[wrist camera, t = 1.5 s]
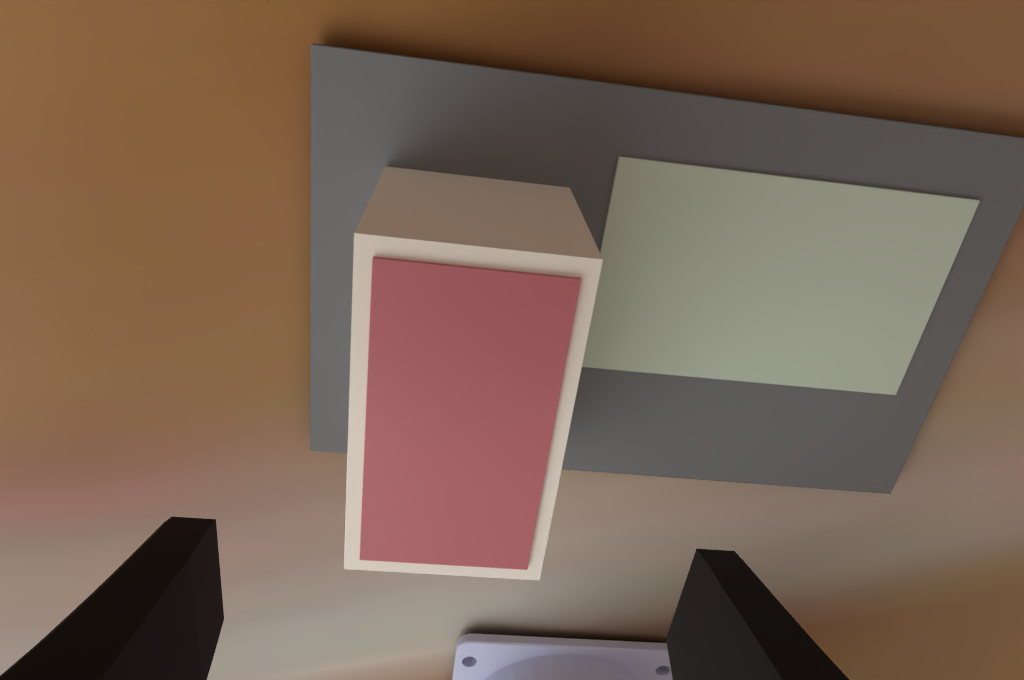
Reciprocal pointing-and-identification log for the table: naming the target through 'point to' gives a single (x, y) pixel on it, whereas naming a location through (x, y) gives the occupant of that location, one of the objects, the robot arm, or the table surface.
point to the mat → (693, 258)
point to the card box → (463, 371)
